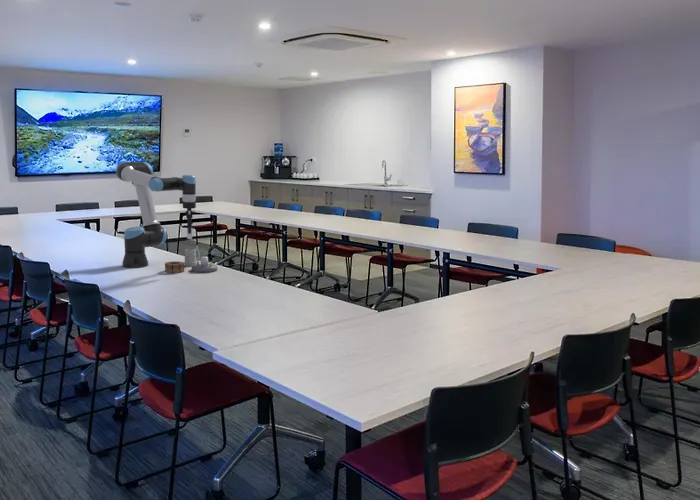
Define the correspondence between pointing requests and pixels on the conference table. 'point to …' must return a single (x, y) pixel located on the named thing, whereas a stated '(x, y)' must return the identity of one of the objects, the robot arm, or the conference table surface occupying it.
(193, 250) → the mug
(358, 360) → the conference table surface
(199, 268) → the flange base
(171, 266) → the collar
